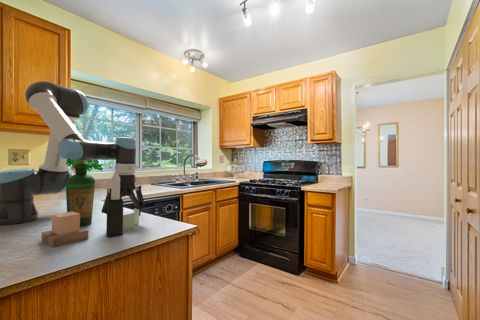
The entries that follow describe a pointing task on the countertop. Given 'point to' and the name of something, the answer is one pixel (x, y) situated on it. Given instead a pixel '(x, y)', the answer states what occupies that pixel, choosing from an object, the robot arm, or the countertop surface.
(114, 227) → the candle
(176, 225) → the countertop surface
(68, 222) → the brick
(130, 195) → the robot arm
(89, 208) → the bottle
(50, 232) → the base block
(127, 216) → the brick
